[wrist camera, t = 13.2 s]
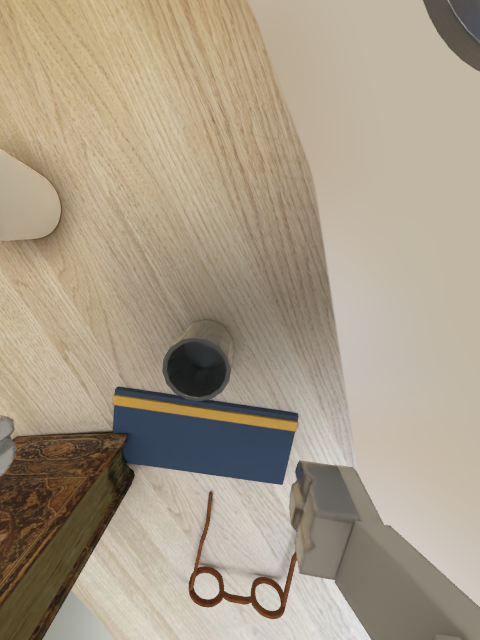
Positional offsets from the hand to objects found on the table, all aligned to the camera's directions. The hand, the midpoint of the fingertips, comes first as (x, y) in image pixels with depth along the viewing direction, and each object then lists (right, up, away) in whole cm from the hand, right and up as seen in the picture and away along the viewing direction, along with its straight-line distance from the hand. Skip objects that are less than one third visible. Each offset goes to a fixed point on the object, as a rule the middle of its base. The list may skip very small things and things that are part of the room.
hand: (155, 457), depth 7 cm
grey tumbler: (-1, +1, +22) cm, 22 cm away
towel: (-2, -11, +25) cm, 27 cm away
